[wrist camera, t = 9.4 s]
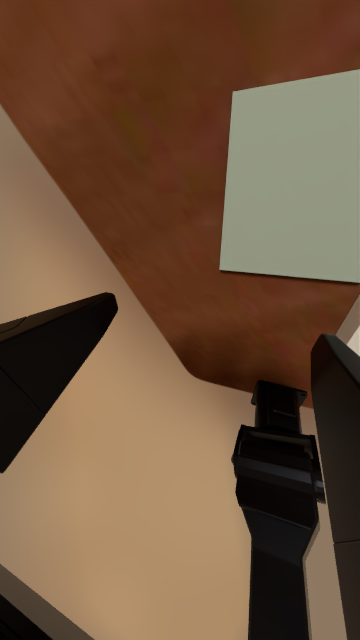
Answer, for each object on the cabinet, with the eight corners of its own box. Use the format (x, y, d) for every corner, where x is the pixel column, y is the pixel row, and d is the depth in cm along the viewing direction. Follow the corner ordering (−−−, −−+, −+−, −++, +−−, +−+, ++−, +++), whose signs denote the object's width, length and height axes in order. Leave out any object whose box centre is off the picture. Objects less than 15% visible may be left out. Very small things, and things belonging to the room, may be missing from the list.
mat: (360, 279, 17) (363, 282, 16) (220, 267, 20) (219, 269, 20) (492, 49, 9) (503, 44, 9) (234, 94, 13) (233, 91, 12)
